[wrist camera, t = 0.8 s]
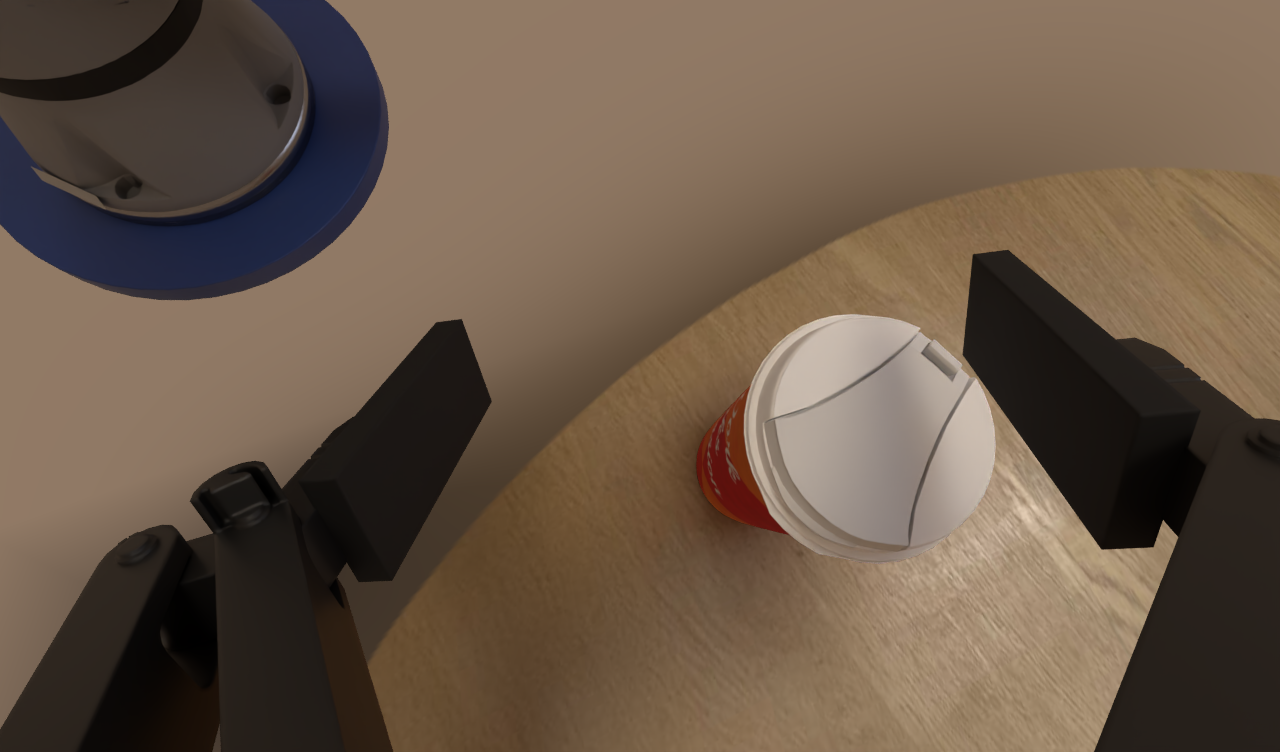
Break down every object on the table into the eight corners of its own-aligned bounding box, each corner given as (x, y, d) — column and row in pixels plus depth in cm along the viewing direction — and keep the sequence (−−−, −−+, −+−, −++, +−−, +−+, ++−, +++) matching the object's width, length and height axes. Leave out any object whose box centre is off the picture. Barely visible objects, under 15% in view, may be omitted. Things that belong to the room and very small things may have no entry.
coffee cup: (742, 363, 34) (867, 251, 20) (850, 465, 34) (1060, 426, 19) (641, 470, 32) (697, 431, 18) (753, 580, 32) (907, 633, 17)
